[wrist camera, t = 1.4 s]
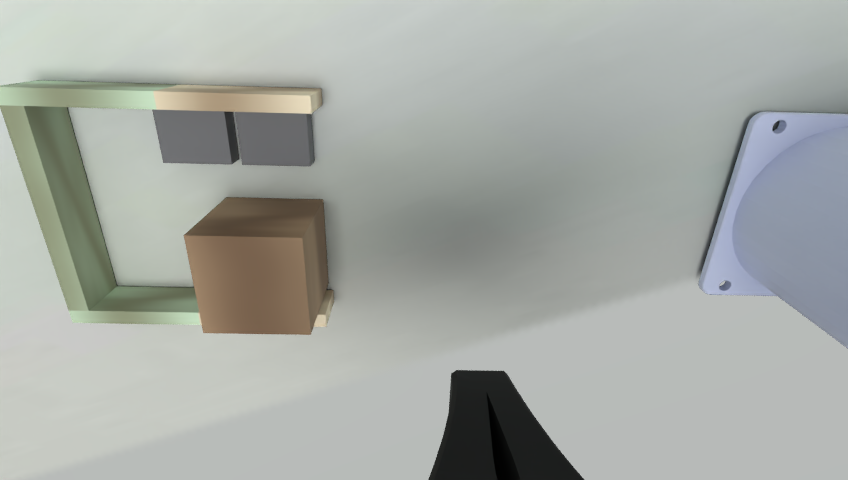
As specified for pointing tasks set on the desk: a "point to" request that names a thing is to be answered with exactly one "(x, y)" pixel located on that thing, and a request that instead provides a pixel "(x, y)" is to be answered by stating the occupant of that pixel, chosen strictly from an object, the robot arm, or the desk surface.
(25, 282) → the desk surface
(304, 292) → the block
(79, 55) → the desk surface
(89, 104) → the green beige u-shaped frame
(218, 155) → the tiles
